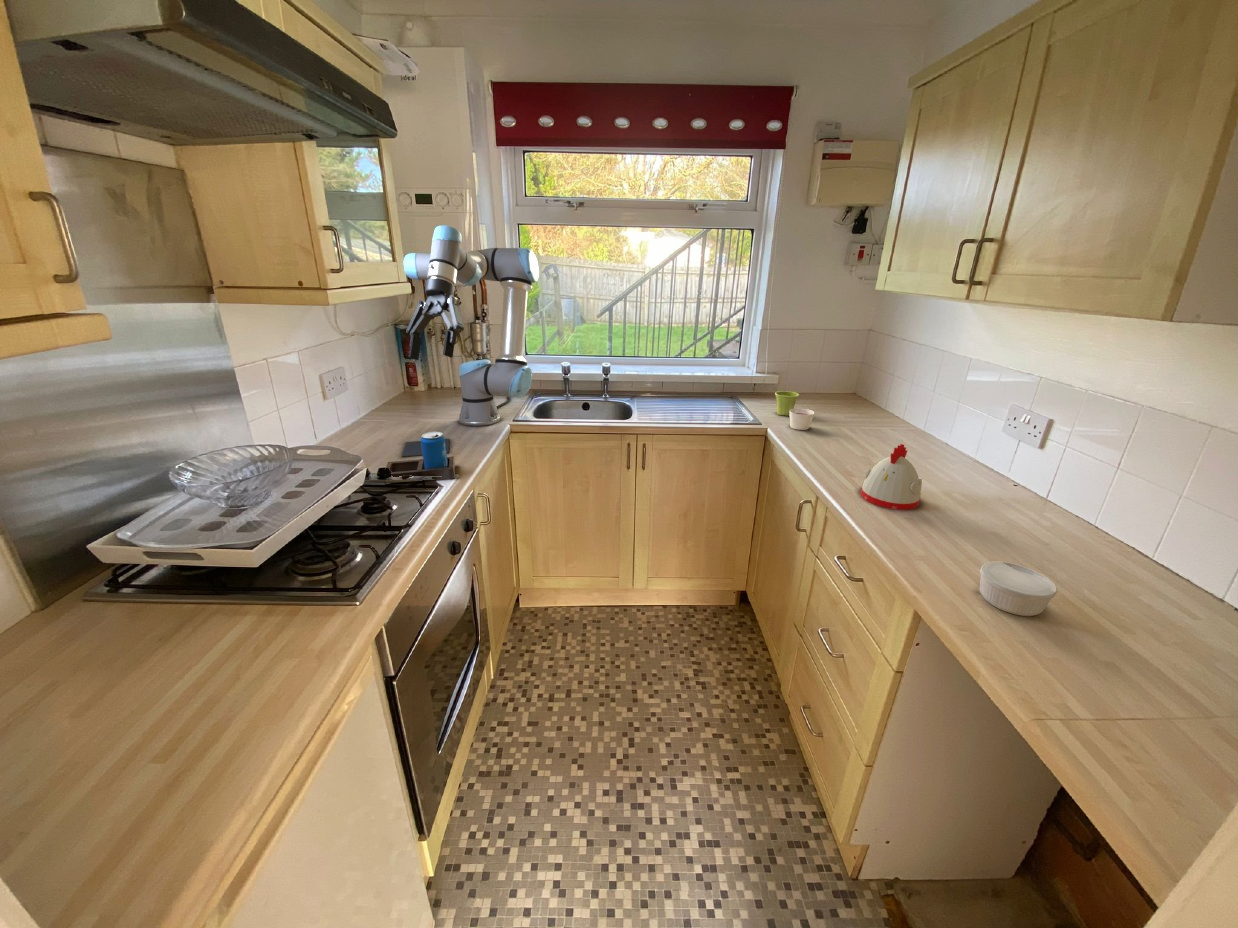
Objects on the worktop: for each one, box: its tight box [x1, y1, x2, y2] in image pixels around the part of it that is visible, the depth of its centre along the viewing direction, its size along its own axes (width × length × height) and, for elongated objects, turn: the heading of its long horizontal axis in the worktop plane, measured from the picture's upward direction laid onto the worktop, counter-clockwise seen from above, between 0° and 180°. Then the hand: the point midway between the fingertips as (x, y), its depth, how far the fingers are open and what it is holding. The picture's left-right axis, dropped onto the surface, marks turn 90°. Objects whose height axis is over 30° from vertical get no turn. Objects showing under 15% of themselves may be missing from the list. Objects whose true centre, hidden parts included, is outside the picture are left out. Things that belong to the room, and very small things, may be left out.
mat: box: [401, 438, 450, 458], centre depth 169 cm, size 14×14×1 cm
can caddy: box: [385, 456, 456, 481], centre depth 147 cm, size 10×18×3 cm, turn 106°
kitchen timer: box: [860, 443, 923, 511], centre depth 133 cm, size 14×14×15 cm
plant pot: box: [774, 390, 800, 417], centre depth 210 cm, size 9×9×9 cm
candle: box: [789, 407, 815, 431], centre depth 193 cm, size 9×9×6 cm
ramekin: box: [979, 560, 1058, 617], centre depth 93 cm, size 11×11×5 cm
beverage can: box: [420, 431, 448, 469], centre depth 146 cm, size 6×6×12 cm
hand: (430, 357), depth 139 cm, fingers open, 13 cm apart
